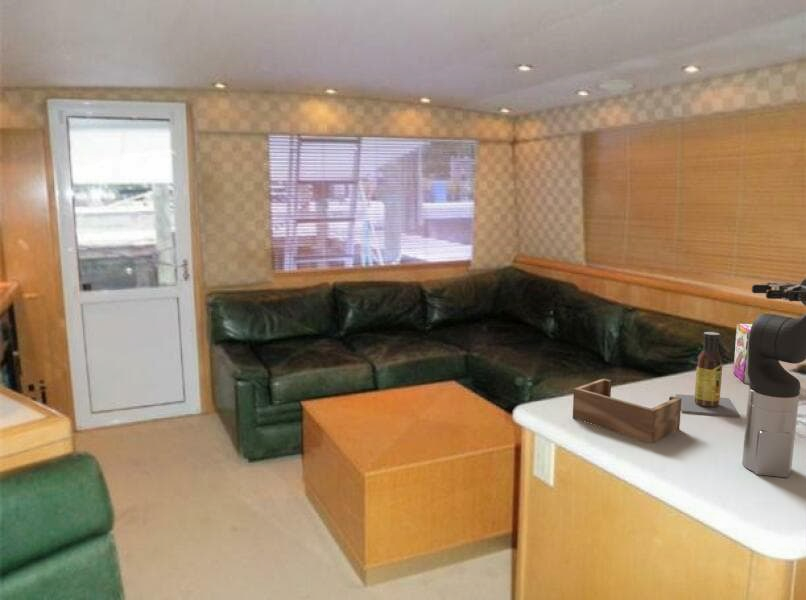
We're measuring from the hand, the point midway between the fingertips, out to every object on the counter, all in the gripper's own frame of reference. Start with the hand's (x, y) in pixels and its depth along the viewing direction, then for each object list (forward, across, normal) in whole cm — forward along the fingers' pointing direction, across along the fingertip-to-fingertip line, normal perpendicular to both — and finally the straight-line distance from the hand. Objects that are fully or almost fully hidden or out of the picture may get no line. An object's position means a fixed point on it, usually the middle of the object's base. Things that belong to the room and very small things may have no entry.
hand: (759, 291), depth 169 cm
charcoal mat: (+11, 0, +32) cm, 34 cm away
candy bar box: (-10, -27, +32) cm, 43 cm away
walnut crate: (+36, +15, +32) cm, 50 cm away
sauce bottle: (+11, 0, +32) cm, 33 cm away
